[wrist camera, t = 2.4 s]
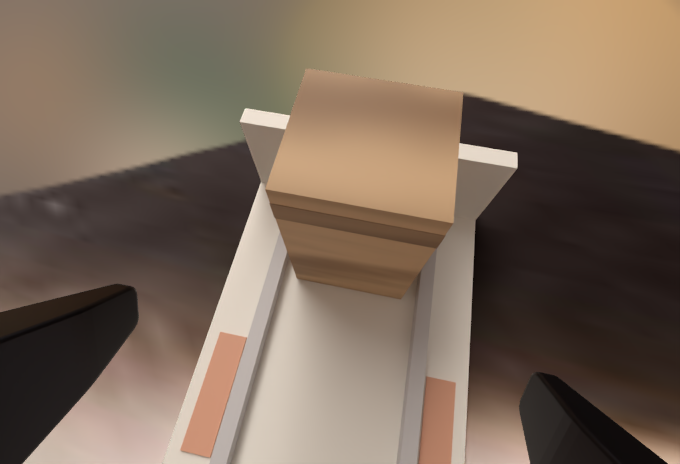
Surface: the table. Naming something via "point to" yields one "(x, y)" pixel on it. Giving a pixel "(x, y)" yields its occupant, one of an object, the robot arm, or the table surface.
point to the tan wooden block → (366, 180)
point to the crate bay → (336, 345)
